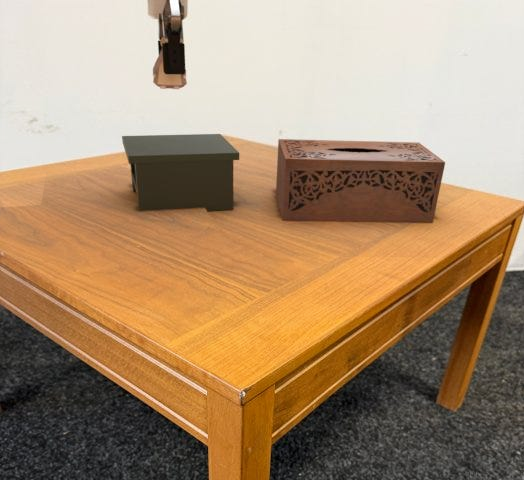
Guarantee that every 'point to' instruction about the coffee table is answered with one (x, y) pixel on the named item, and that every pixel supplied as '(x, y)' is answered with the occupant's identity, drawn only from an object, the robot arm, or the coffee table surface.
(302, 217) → the tissue box cover
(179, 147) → the dark green lidded box
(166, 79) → the mouse figurine
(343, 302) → the coffee table surface
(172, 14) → the robot arm
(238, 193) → the coffee table surface
